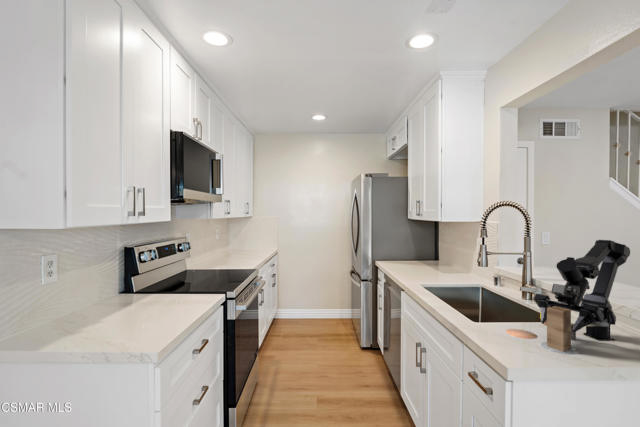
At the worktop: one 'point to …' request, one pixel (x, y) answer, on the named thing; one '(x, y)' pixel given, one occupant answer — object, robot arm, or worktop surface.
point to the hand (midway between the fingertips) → (557, 326)
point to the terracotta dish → (521, 333)
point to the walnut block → (559, 328)
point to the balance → (573, 334)
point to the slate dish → (571, 351)
